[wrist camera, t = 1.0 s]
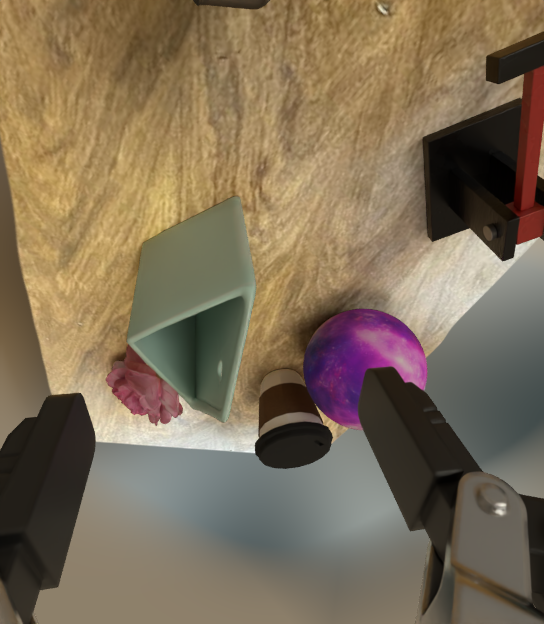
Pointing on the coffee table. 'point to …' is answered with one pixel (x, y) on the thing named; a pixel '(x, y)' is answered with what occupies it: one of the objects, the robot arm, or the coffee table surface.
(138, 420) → the coffee table surface
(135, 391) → the flower
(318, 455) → the coffee cup
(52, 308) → the coffee table surface
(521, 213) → the red lever
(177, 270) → the planter
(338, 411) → the decorative orb
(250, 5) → the alarm clock
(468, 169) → the lever stand
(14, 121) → the coffee table surface
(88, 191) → the coffee table surface
